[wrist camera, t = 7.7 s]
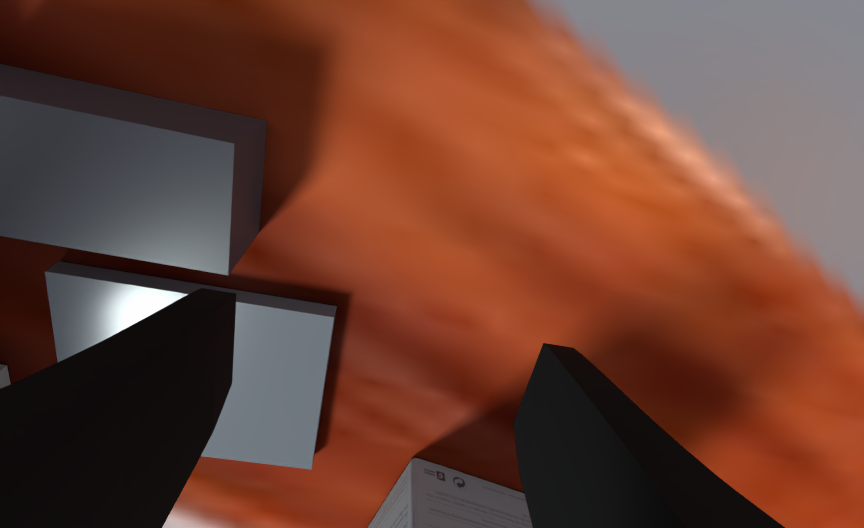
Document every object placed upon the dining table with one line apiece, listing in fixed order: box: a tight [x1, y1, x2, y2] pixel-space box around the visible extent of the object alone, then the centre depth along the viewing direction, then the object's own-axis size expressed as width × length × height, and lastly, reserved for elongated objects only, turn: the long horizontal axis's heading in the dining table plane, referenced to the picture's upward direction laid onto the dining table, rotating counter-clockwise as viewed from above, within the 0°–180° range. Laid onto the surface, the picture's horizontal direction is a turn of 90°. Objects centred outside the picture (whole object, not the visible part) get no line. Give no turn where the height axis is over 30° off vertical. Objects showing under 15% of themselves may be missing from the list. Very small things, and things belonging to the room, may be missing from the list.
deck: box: [45, 261, 337, 469], centre depth 20 cm, size 8×10×1 cm
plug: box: [0, 64, 267, 275], centre depth 15 cm, size 4×8×4 cm, turn 77°
